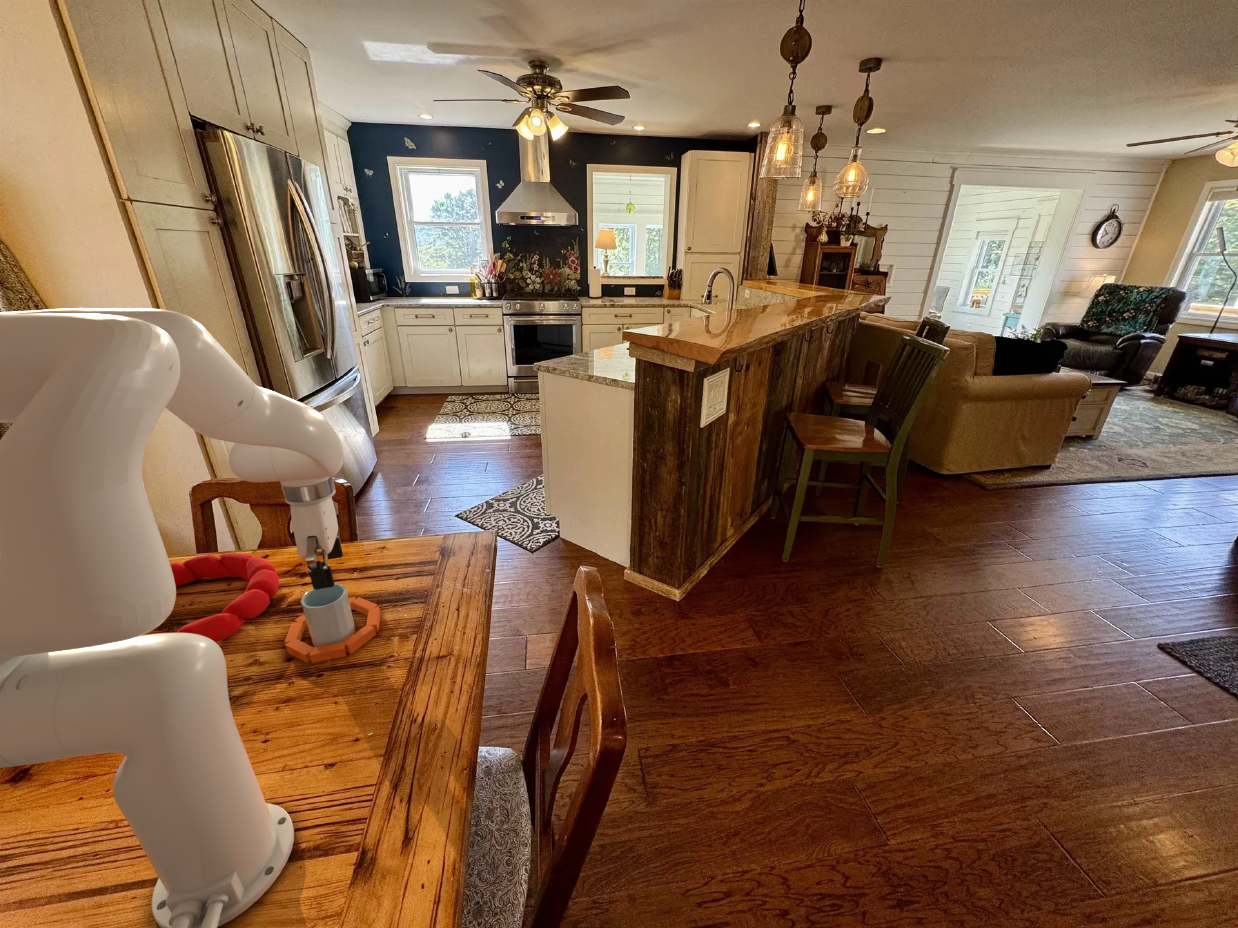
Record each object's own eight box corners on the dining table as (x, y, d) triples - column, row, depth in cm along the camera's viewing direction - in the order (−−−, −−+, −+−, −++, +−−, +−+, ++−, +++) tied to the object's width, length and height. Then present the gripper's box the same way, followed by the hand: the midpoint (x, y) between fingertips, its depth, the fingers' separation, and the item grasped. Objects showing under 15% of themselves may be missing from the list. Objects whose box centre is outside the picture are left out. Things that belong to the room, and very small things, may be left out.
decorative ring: (271, 534, 111) (80, 568, 94) (283, 606, 89) (36, 667, 71) (276, 562, 114) (91, 600, 96) (288, 638, 91) (50, 705, 74)
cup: (352, 644, 87) (342, 603, 84) (308, 653, 85) (296, 611, 82) (357, 619, 93) (348, 580, 90) (316, 627, 91) (305, 587, 87)
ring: (375, 650, 86) (374, 641, 85) (279, 670, 81) (276, 661, 81) (382, 599, 99) (381, 591, 98) (299, 614, 94) (297, 606, 93)
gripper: (295, 471, 91) (315, 551, 97) (269, 514, 76) (294, 604, 82) (341, 467, 93) (357, 544, 99) (324, 507, 78) (345, 596, 84)
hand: (329, 571), depth 91 cm, fingers open, 9 cm apart
